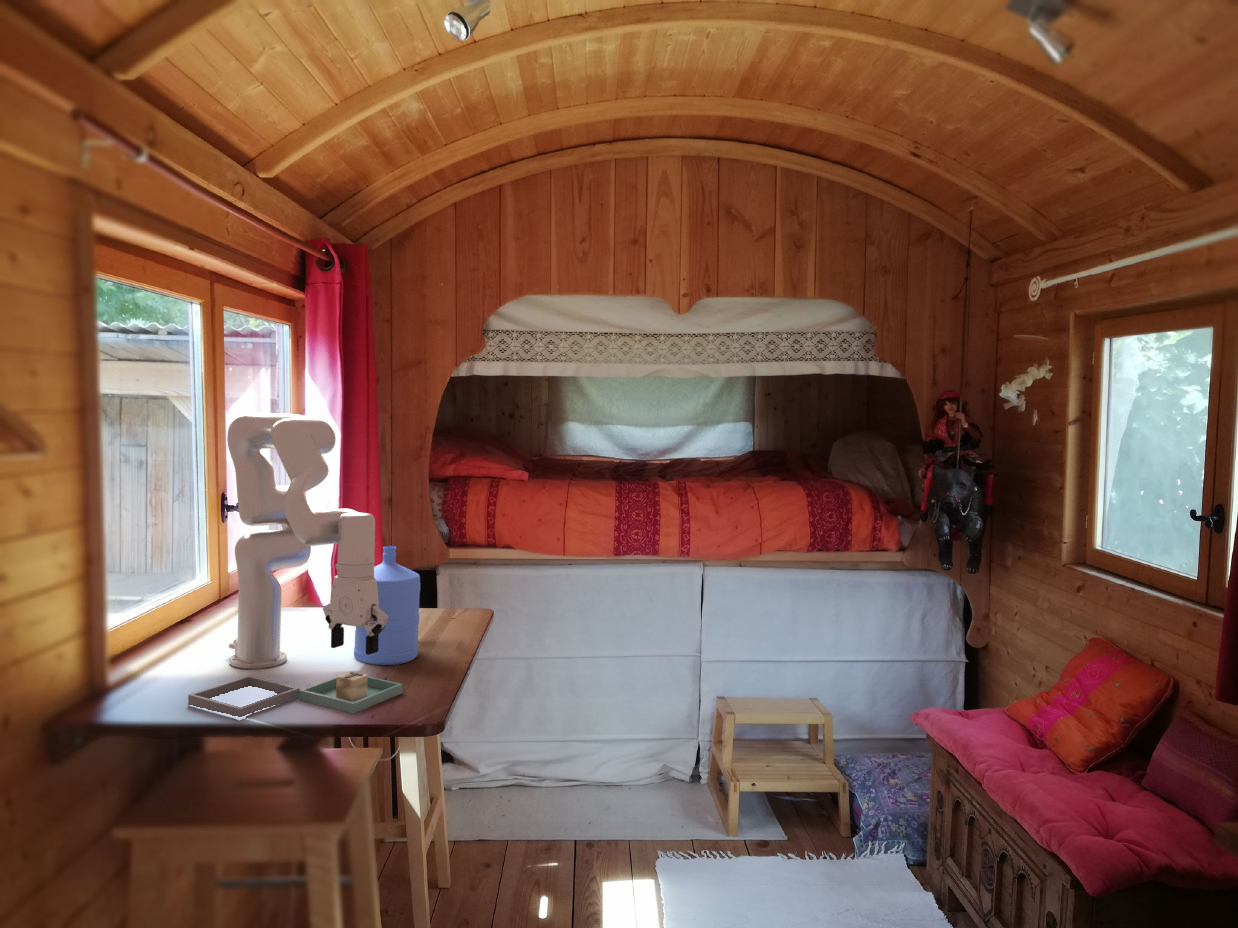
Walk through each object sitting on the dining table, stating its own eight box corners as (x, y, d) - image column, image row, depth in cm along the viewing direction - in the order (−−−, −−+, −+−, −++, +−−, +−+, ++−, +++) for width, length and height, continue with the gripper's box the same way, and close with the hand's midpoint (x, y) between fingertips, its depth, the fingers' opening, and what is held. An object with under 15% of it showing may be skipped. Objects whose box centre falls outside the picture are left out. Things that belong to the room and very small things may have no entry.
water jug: (429, 659, 210) (433, 549, 208) (372, 670, 199) (376, 554, 197) (398, 644, 221) (401, 540, 219) (342, 654, 210) (345, 544, 208)
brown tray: (188, 706, 170) (188, 694, 170) (249, 686, 184) (249, 675, 184) (240, 720, 164) (240, 708, 164) (299, 699, 177) (299, 688, 177)
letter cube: (336, 697, 179) (336, 675, 178) (351, 691, 183) (351, 670, 182) (352, 701, 177) (352, 679, 176) (367, 695, 181) (367, 673, 180)
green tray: (298, 701, 176) (299, 690, 176) (350, 682, 190) (350, 671, 190) (353, 715, 170) (353, 703, 170) (402, 694, 183) (402, 683, 183)
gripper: (312, 569, 178) (311, 648, 179) (375, 577, 171) (373, 660, 172) (338, 564, 185) (336, 640, 186) (399, 572, 178) (397, 651, 178)
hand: (354, 649), depth 179 cm, fingers open, 9 cm apart
